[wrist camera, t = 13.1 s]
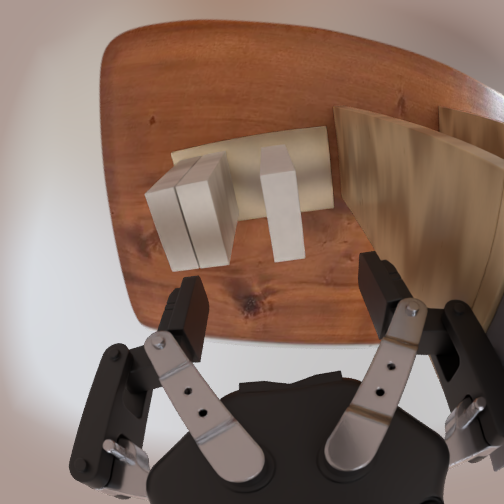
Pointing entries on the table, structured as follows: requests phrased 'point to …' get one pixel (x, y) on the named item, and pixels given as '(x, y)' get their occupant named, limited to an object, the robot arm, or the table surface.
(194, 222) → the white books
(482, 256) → the wooden stand
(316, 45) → the table surface
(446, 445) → the robot arm
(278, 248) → the white book
